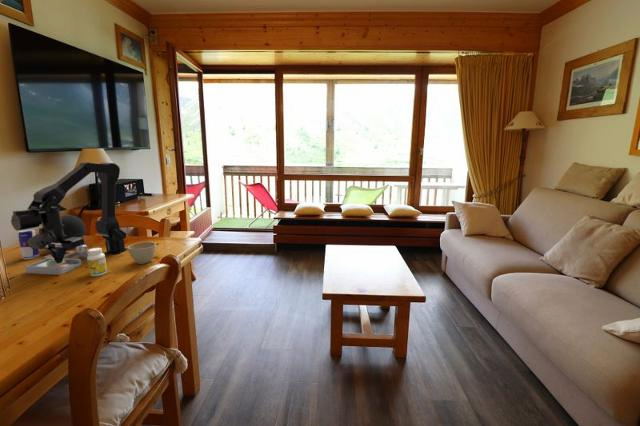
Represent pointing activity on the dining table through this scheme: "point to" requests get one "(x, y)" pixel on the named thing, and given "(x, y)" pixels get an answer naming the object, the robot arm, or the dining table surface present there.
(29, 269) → the gray box
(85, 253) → the peg
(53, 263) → the lid
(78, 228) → the dark ball on stand
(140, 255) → the light gray bowl
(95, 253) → the supplement bottle
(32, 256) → the energy drink
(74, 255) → the socket board
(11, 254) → the dining table surface
